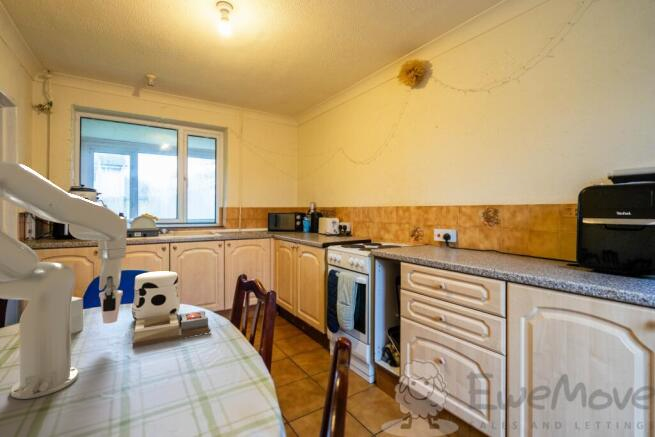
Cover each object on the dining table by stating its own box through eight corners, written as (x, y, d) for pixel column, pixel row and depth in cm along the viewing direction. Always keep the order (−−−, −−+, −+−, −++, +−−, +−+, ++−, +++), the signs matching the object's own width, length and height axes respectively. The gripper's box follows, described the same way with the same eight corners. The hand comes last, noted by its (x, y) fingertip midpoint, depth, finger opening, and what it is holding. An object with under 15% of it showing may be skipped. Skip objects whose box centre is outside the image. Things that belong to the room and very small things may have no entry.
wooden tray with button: (210, 333, 108) (210, 320, 108) (132, 347, 96) (132, 332, 96) (204, 320, 121) (204, 308, 120) (135, 331, 108) (135, 318, 108)
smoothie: (126, 318, 100) (128, 277, 100) (111, 325, 93) (112, 281, 94) (109, 317, 100) (110, 276, 101) (92, 324, 94) (94, 280, 94)
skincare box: (58, 332, 106) (58, 299, 106) (72, 327, 110) (72, 296, 110) (70, 334, 104) (70, 301, 104) (83, 329, 109) (83, 298, 108)
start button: (201, 325, 111) (201, 316, 111) (186, 327, 108) (187, 319, 108) (199, 320, 115) (199, 312, 115) (185, 323, 113) (185, 314, 113)
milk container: (187, 311, 131) (187, 271, 130) (165, 326, 113) (165, 280, 113) (148, 310, 131) (149, 270, 130) (121, 325, 114) (121, 279, 113)
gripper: (102, 251, 103) (100, 302, 103) (93, 257, 88) (91, 317, 88) (127, 250, 106) (126, 300, 106) (123, 256, 92) (122, 314, 92)
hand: (110, 307), depth 97 cm, fingers closed on smoothie, 6 cm apart
